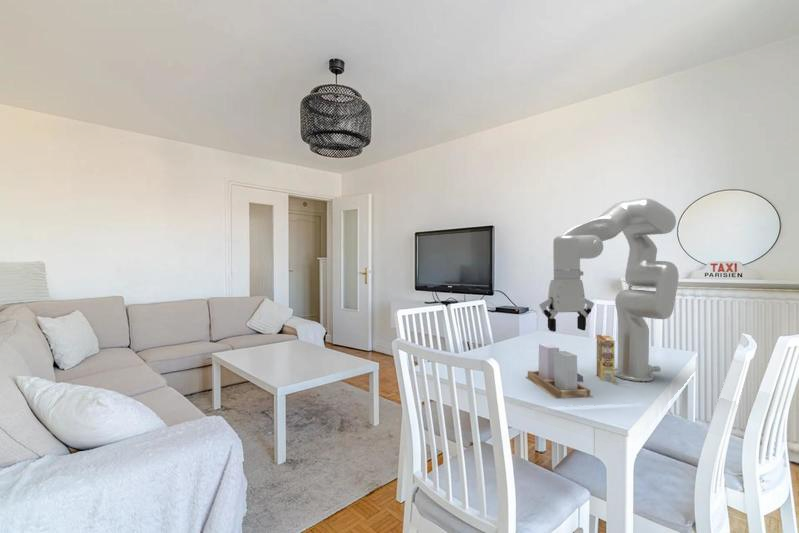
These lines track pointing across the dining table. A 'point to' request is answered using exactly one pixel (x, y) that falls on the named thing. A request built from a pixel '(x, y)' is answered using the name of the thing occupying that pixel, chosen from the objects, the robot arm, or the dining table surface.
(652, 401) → the dining table surface
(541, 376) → the seated billet
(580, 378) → the grey square holder
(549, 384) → the wooden divided tray
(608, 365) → the candy box
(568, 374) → the skincare box
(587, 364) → the dining table surface
